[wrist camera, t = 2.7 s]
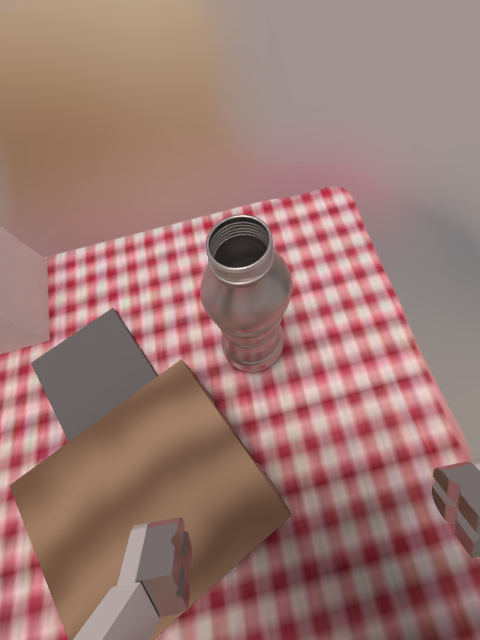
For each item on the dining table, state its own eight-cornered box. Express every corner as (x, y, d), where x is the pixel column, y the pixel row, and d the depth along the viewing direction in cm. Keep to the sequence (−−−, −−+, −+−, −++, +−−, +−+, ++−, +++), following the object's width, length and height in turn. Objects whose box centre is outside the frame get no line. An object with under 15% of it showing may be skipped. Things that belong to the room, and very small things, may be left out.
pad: (161, 380, 35) (158, 379, 34) (74, 444, 33) (70, 444, 32) (115, 310, 39) (112, 308, 38) (35, 364, 37) (31, 362, 36)
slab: (287, 503, 29) (291, 515, 24) (124, 647, 26) (90, 695, 21) (193, 371, 35) (181, 359, 30) (50, 478, 32) (9, 485, 27)
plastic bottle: (213, 347, 36) (154, 243, 17) (256, 310, 37) (245, 175, 18) (250, 389, 34) (230, 321, 15) (295, 348, 35) (326, 239, 16)
